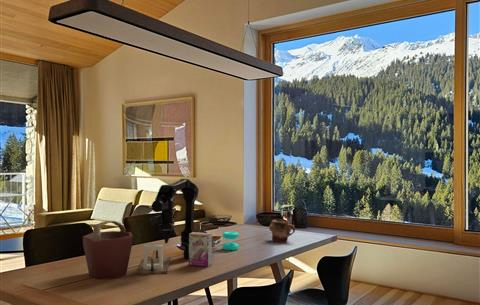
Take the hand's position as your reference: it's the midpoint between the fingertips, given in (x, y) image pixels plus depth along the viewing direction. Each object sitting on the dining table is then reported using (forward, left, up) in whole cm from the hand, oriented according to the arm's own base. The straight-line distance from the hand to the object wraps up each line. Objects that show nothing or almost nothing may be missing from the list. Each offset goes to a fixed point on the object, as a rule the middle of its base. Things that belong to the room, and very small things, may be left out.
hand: (167, 241), depth 219 cm
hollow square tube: (+6, +3, -12) cm, 14 cm away
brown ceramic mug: (-72, -64, -14) cm, 97 cm away
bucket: (+27, +8, -14) cm, 32 cm away
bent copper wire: (+6, -5, -12) cm, 15 cm away
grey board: (+6, -6, -13) cm, 16 cm away
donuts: (-36, -43, -14) cm, 57 cm away
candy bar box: (-17, -5, -14) cm, 22 cm away
